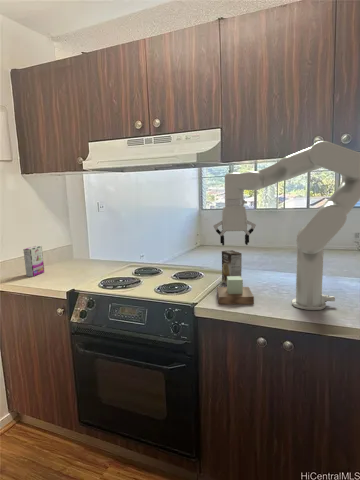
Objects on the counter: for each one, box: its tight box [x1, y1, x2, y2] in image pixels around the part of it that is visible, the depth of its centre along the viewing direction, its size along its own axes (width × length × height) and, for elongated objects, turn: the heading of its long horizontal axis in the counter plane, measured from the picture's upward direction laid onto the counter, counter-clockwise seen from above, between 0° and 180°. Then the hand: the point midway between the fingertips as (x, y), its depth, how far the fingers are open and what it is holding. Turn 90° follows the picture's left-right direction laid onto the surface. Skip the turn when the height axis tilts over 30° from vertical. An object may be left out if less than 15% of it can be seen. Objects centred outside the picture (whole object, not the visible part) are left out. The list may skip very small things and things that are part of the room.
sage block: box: [226, 275, 244, 294], centre depth 139 cm, size 6×6×6 cm
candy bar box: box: [23, 245, 45, 278], centre depth 193 cm, size 11×5×16 cm, turn 170°
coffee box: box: [221, 250, 243, 285], centre depth 161 cm, size 9×6×16 cm
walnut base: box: [216, 286, 255, 305], centre depth 140 cm, size 14×14×3 cm
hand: (234, 244), depth 137 cm, fingers open, 9 cm apart
